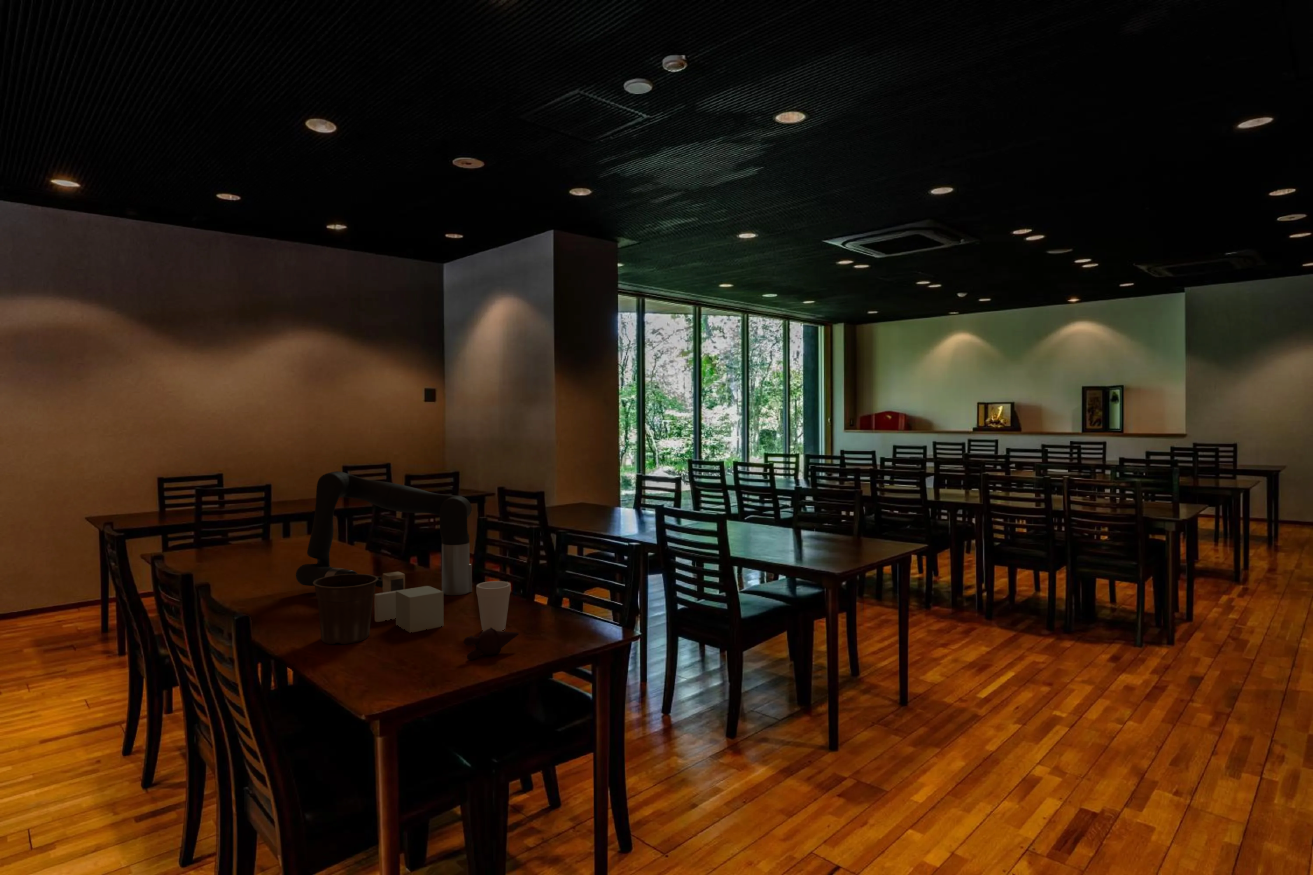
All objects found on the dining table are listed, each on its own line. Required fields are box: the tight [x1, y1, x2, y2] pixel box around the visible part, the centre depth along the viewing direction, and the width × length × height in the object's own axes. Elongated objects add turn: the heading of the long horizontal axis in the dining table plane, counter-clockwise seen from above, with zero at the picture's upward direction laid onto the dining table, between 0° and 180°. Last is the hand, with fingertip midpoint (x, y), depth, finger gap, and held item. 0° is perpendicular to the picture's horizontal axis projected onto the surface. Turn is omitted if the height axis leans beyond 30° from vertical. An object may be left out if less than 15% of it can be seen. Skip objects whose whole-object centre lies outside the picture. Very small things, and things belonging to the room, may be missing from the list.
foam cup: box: [475, 580, 512, 632], centre depth 204 cm, size 10×9×13 cm
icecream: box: [463, 628, 519, 661], centre depth 184 cm, size 7×7×15 cm
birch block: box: [382, 571, 406, 593], centre depth 222 cm, size 5×5×12 cm
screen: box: [374, 585, 425, 623], centre depth 218 cm, size 16×2×8 cm, turn 132°
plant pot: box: [313, 573, 378, 645], centre depth 196 cm, size 16×16×16 cm
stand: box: [395, 585, 445, 634], centre depth 208 cm, size 10×10×10 cm
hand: (371, 586), depth 229 cm, fingers open, 8 cm apart
